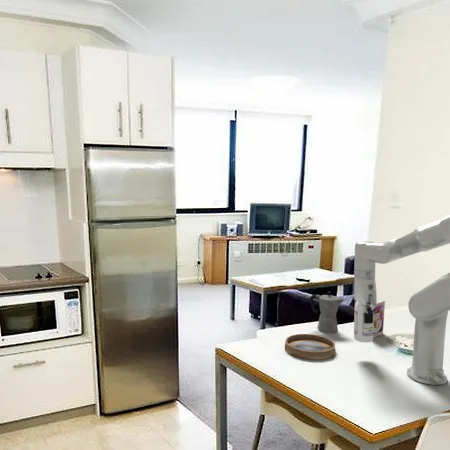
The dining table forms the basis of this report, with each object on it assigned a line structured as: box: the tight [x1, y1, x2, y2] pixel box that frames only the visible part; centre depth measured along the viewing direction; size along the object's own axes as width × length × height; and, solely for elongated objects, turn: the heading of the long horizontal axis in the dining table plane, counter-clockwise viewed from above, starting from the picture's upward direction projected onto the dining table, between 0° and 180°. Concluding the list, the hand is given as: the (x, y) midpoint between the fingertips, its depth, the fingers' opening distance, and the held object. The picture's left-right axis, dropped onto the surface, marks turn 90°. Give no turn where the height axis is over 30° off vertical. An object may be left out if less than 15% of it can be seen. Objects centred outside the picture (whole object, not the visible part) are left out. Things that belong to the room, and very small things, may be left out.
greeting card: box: [373, 300, 386, 338], centre depth 187 cm, size 11×7×15 cm, turn 129°
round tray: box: [284, 333, 337, 361], centre depth 169 cm, size 20×20×3 cm
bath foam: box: [353, 301, 374, 343], centre depth 160 cm, size 7×7×20 cm
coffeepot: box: [309, 290, 345, 334], centre depth 192 cm, size 15×9×18 cm, turn 67°
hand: (363, 319), depth 160 cm, fingers closed on bath foam, 7 cm apart
